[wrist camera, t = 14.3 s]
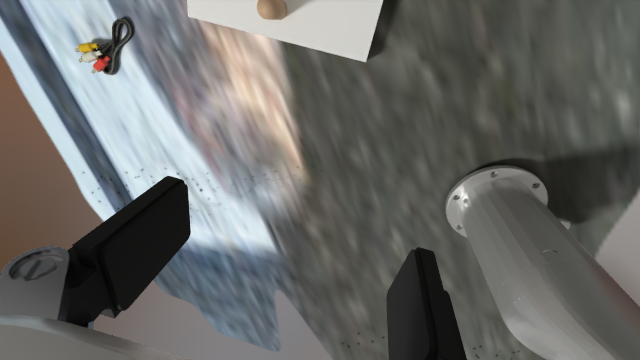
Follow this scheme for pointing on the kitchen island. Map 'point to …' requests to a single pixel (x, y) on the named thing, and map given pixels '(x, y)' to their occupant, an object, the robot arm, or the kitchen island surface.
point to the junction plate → (299, 21)
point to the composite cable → (106, 49)
